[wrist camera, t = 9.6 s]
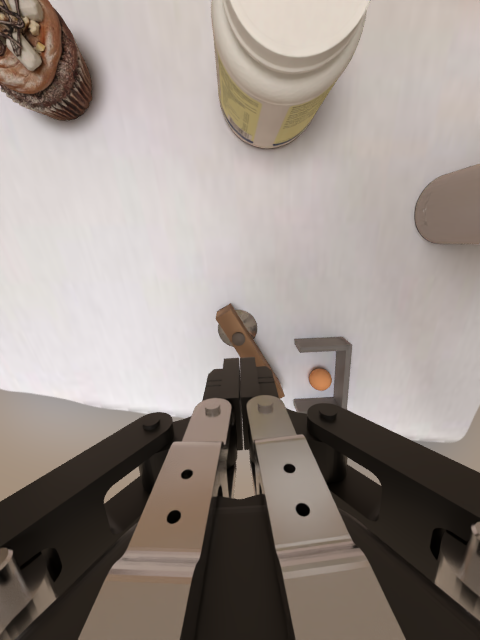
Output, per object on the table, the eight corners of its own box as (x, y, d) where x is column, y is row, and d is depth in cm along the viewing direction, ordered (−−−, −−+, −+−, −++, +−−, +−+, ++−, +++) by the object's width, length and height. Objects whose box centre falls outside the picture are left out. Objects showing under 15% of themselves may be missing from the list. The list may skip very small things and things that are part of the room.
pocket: (342, 336, 42) (352, 344, 39) (337, 401, 46) (346, 413, 42) (294, 339, 42) (300, 347, 39) (293, 403, 46) (298, 416, 42)
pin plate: (256, 308, 41) (256, 309, 40) (257, 345, 42) (257, 346, 42) (216, 310, 41) (216, 310, 40) (219, 347, 42) (219, 348, 42)
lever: (230, 303, 40) (230, 311, 36) (280, 382, 44) (285, 398, 40) (217, 311, 40) (215, 320, 36) (267, 389, 44) (271, 405, 40)
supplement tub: (322, 38, 32) (418, -174, 16) (310, 154, 35) (379, 79, 19) (219, 30, 31) (207, -198, 15) (217, 149, 35) (205, 67, 18)
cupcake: (11, 27, 31) (-89, -72, 21) (98, 37, 31) (39, -54, 22) (23, 124, 33) (-62, 76, 24) (103, 132, 34) (52, 89, 24)
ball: (336, 368, 42) (325, 376, 40) (334, 388, 43) (324, 397, 41) (316, 363, 44) (305, 370, 42) (315, 381, 45) (304, 389, 43)
